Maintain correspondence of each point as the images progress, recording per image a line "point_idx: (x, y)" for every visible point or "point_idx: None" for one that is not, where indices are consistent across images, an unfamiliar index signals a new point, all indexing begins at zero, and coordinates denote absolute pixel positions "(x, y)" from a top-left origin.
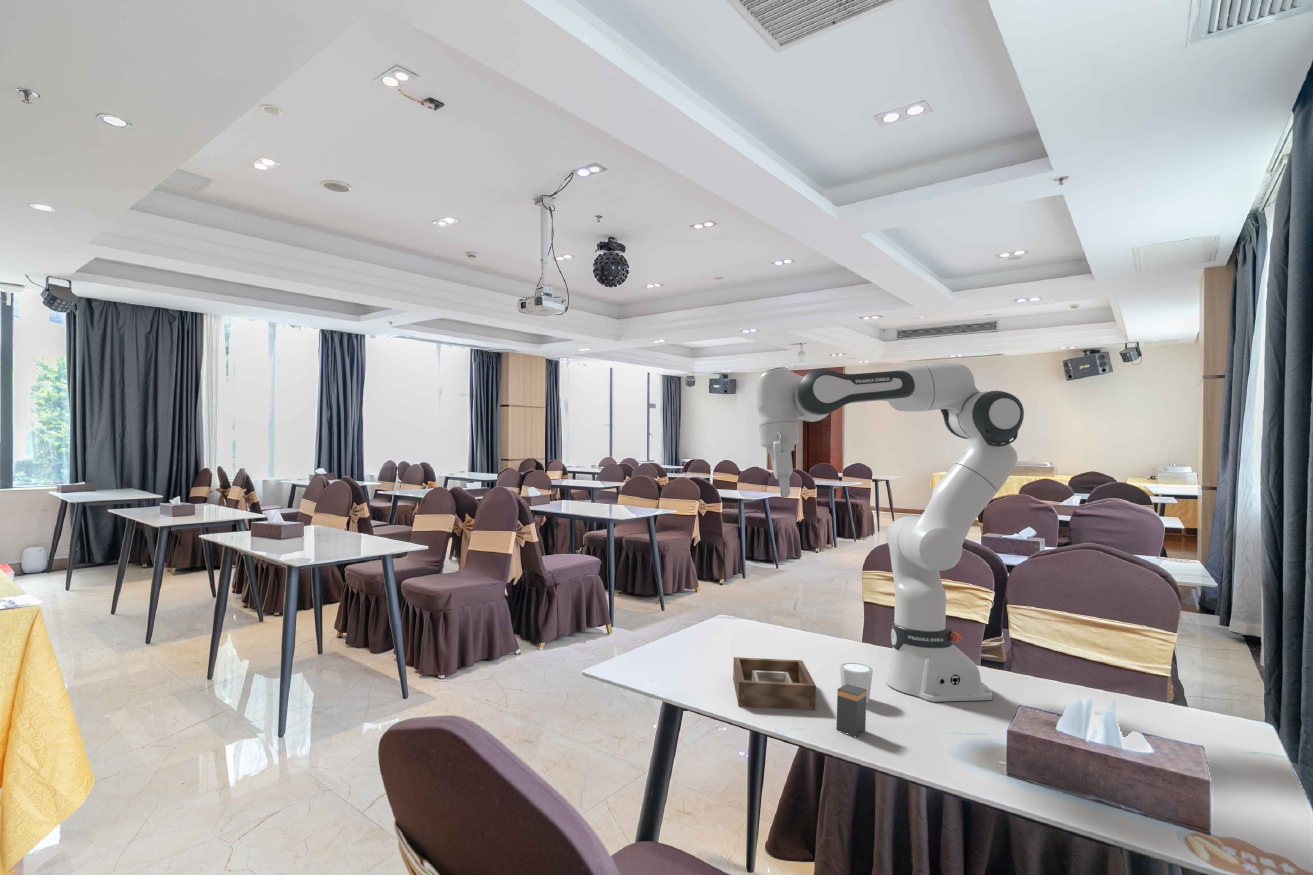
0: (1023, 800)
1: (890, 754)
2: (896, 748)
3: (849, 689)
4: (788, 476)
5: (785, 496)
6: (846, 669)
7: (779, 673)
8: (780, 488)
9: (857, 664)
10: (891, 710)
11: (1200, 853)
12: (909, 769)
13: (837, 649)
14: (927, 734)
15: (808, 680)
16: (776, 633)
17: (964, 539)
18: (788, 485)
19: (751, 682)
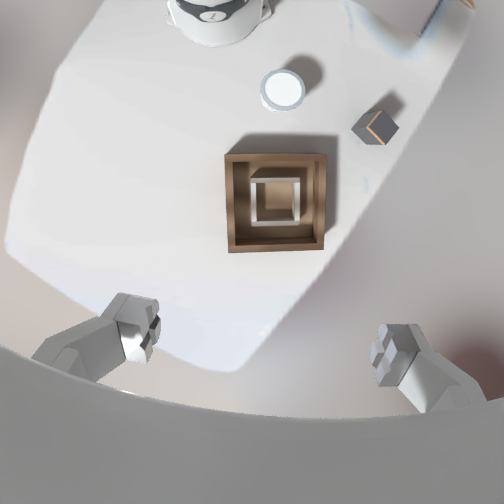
0: (448, 51)
1: (405, 110)
2: (394, 99)
3: (385, 130)
4: (480, 399)
5: (156, 312)
6: (294, 105)
7: (255, 189)
8: (117, 364)
9: (267, 83)
10: (305, 66)
11: (468, 4)
12: (426, 107)
13: (85, 95)
14: (360, 56)
15: (307, 160)
16: (38, 179)
17: None
18: (440, 363)
19: (323, 235)
